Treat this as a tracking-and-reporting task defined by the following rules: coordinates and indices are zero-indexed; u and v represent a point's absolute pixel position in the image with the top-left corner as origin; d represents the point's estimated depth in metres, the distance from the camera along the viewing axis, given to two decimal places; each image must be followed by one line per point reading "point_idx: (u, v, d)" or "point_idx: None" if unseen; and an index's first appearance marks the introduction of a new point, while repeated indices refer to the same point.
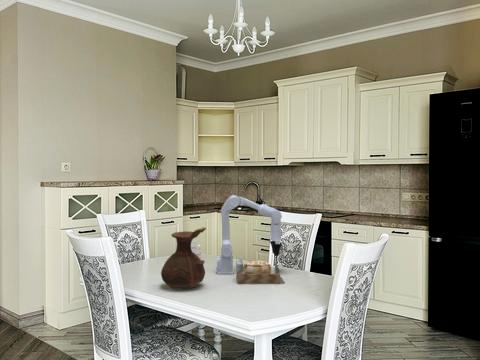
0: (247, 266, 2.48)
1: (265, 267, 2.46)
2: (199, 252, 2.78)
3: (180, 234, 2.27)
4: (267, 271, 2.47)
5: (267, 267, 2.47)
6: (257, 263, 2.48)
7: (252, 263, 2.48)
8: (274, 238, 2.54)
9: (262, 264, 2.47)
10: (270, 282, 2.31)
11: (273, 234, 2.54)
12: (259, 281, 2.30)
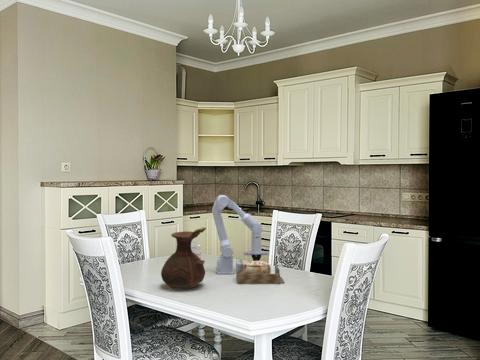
0: (246, 266, 2.48)
1: (264, 267, 2.46)
2: (199, 252, 2.78)
3: (180, 234, 2.27)
4: (266, 271, 2.46)
5: (266, 267, 2.46)
6: (256, 263, 2.47)
7: (251, 263, 2.48)
8: None
9: (261, 265, 2.46)
10: (270, 282, 2.31)
11: None
12: (259, 281, 2.30)
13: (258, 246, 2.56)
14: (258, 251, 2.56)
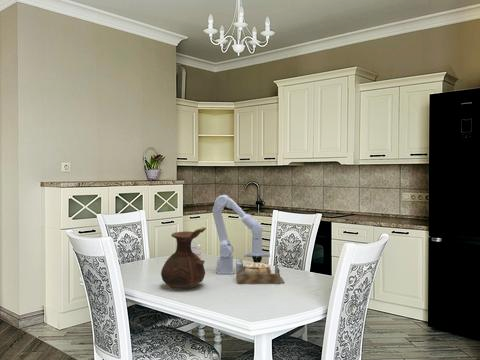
0: (245, 268, 2.43)
1: (263, 270, 2.40)
2: (199, 252, 2.78)
3: (180, 234, 2.27)
4: None
5: (265, 270, 2.40)
6: (255, 265, 2.42)
7: (250, 265, 2.43)
8: None
9: (260, 267, 2.41)
10: (270, 282, 2.31)
11: None
12: (259, 281, 2.30)
13: (259, 248, 2.50)
14: (259, 253, 2.50)
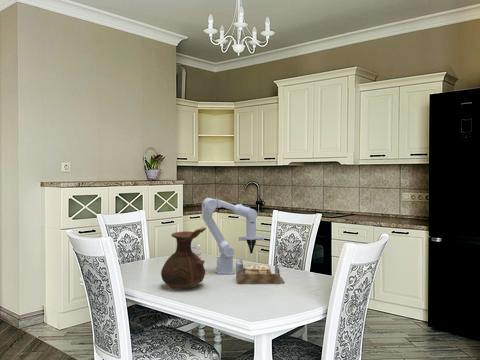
0: (245, 270, 2.38)
1: (263, 272, 2.35)
2: (199, 252, 2.78)
3: (180, 234, 2.27)
4: None
5: (265, 272, 2.35)
6: (255, 267, 2.37)
7: (250, 267, 2.38)
8: None
9: (260, 269, 2.36)
10: (270, 282, 2.31)
11: None
12: (259, 281, 2.30)
13: (253, 231, 2.57)
14: (253, 236, 2.57)
